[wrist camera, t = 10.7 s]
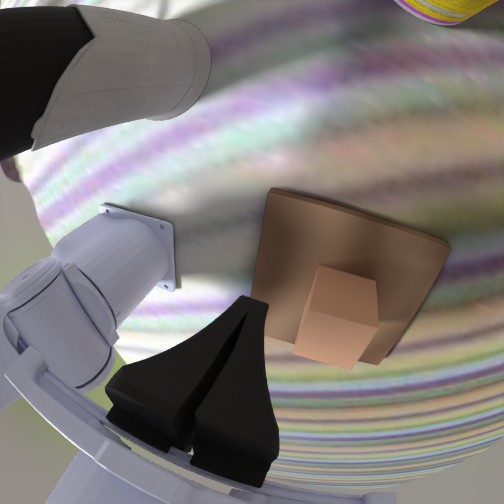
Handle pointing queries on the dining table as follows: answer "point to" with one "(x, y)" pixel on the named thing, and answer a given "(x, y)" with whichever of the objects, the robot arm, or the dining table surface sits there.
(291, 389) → the dining table surface
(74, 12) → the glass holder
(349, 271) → the post base
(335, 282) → the peach tilted cube
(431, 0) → the supplement bottle
